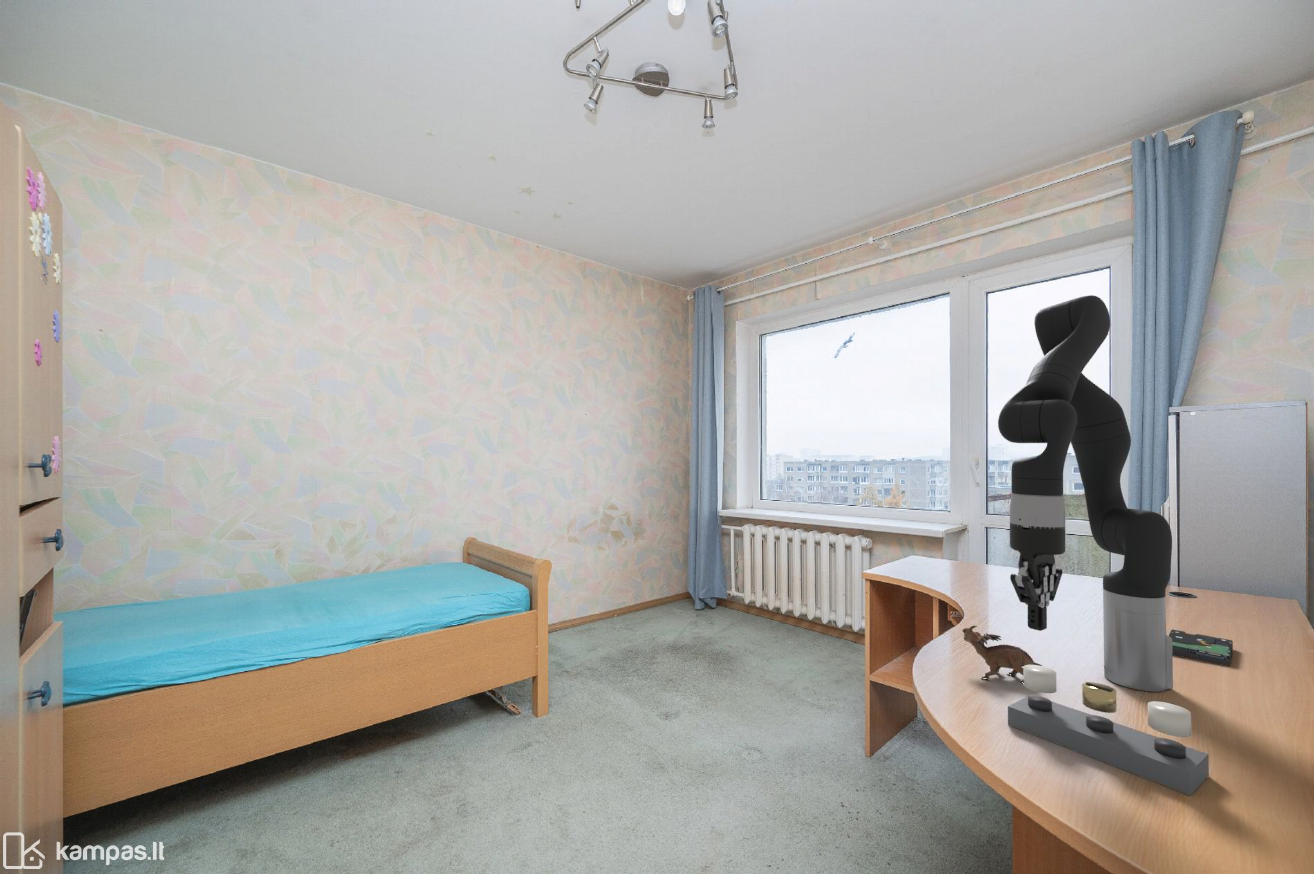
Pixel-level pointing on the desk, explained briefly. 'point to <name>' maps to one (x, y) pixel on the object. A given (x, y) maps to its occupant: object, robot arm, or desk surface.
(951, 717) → the desk surface
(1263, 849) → the desk surface
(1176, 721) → the cream knob
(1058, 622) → the desk surface
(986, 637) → the dinosaur figurine
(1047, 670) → the cream knob
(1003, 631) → the desk surface
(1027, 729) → the control strip
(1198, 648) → the disk drive
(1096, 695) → the brass dial
